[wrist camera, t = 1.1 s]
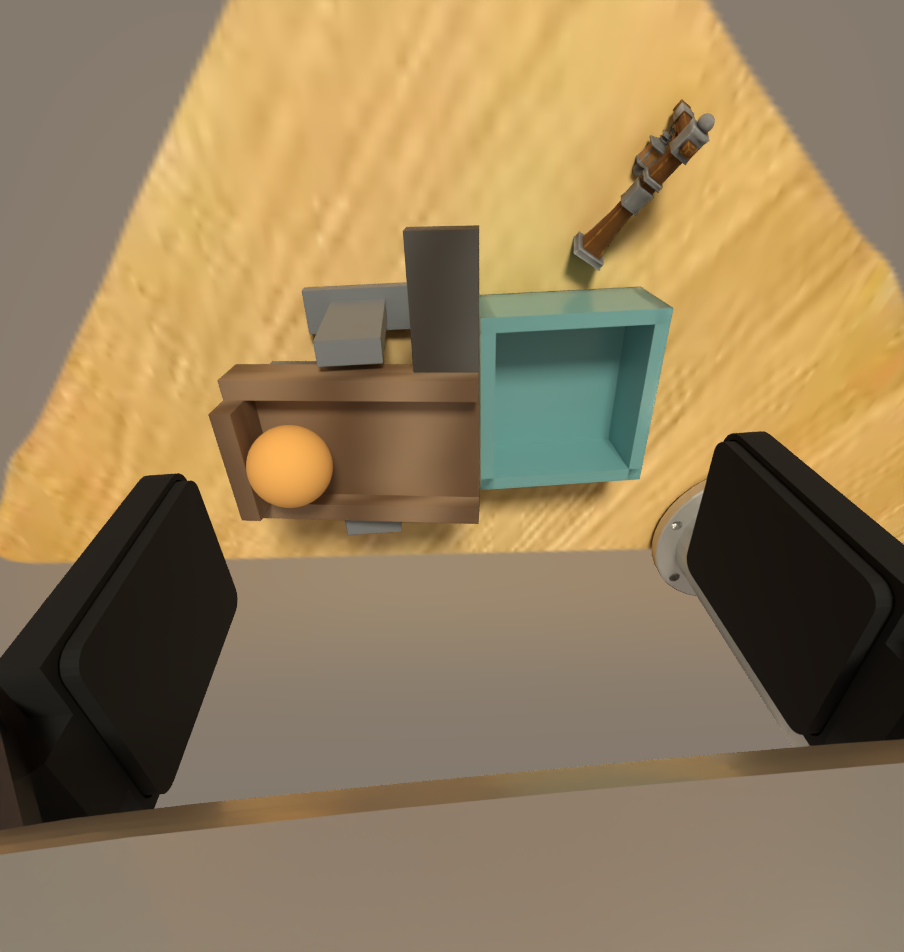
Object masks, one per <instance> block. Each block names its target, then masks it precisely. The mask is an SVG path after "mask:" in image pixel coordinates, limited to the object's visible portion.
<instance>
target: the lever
mask: <svg viewBox="0 0 904 952" xmlns="http://www.w3.org/2000/svg"><path fill="white" fill-rule="evenodd" d="M403 239H404V252H405V265H406V278H407V292H408V305H409V318H410V331H411V344H412V358H413V365H367V364H360V365H342V366H325V367H318V366H317V361H272V362H271V363H270V364H236V365H235V366H233V367H232V368H231V369H230V370H229V371H228V372H227V373H225V374H224V375H223V376H222V377H221V378H220V379H219V380H217V381H218V384H219V387H220V391H221V394H222V397H223V401H222V402H221V403H220V404H219V405H218V406H217V407H216V408H215V409H214V410H213V411H212V412H211V413H210V414H209V418H210V421H211V424H212V428H213V431H214V434H215V437H216V440H217V443H218V446H219V450H220V453H221V456H222V459H223V462H224V465H225V468H226V472H227V475H228V478H229V481H230V484H231V487H232V490H233V494H234V497H235V500H236V503H237V506H238V509H239V513H240V516H241V519H242V520H246V521H261V520H262V518H283V519H319V520H356V521H393V522H429V523H466V524H478V522H479V506H480V391H479V225H478V226H433V227H406V228H405V229H404V230H403ZM282 425H297V426H301V427H304V428H307V429H309V430H311V431H313V432H314V433H316V434H317V435H318V436H319V437H320V438H322V440H323V441H324V442H325V443H326V445H327V447H328V448H329V450H330V453H331V456H332V461H333V472H332V477H331V480H330V483H329V485H328V487H327V488H326V490H325V491H324V492H323V494H322V495H321V496H320V497H319V498H317V499H316V500H314V501H313V502H311V503H309V504H307V505H304V506H301V507H296V508H283V507H278V506H275V505H273V504H270V503H268V502H266V501H265V500H263V499H262V498H261V497H260V496H259V495H258V494H257V493H256V492H255V491H254V490H253V488H252V486H251V485H250V483H249V480H248V477H247V473H246V460H247V456H248V452H249V450H250V448H251V446H252V444H253V443H254V442H255V440H256V439H257V438H258V437H259V436H260V435H262V434H263V433H264V432H266V431H268V430H269V429H272V428H274V427H277V426H282Z"/></svg>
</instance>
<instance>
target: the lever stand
mask: <svg viewBox="0 0 904 952" xmlns="http://www.w3.org/2000/svg"><path fill="white" fill-rule="evenodd" d="M302 295H303V301H304V306H305V312H306V317H307V323H308V328H309V333H310V334H316V336H315V338H314V340H313V344H314V349H315V355H316V361H317V366H318V367H325V366H342V365H360V364H377V363H383V358H384V348H385V338H386V330H398V329H410V318H409V305H408V292H407V283H387V284H367V285H347V286H328V287H308V288H304V289H303V290H302ZM345 521H346V526H347V532H348V535H357V534H370V533H384V532H398V531H401V522H393V521H356V520H345Z"/></svg>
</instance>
